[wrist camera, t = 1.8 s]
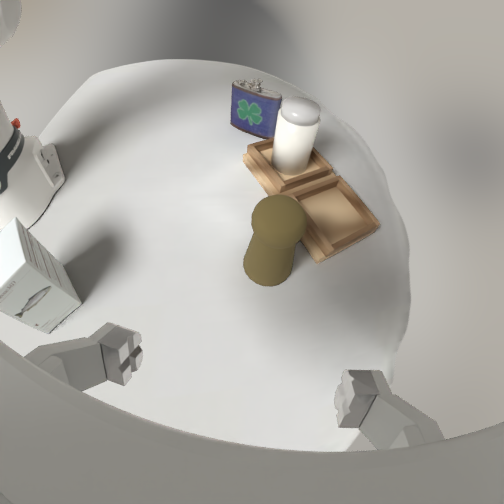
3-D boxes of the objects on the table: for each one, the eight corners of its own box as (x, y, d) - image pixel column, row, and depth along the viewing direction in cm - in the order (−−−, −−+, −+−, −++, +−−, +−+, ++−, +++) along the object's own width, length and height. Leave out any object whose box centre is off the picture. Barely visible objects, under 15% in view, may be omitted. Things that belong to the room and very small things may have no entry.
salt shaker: (263, 156, 40) (271, 98, 31) (293, 147, 42) (305, 93, 32) (283, 180, 38) (296, 121, 29) (313, 169, 40) (331, 114, 30)
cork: (257, 234, 35) (267, 175, 26) (299, 255, 34) (324, 202, 25) (233, 271, 33) (234, 219, 23) (278, 295, 32) (299, 252, 22)
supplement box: (48, 336, 26) (-17, 305, 15) (31, 294, 29) (-24, 253, 18) (84, 304, 29) (26, 261, 18) (64, 264, 31) (14, 213, 20)
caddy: (242, 160, 41) (242, 146, 39) (298, 143, 44) (301, 130, 42) (317, 265, 34) (324, 254, 31) (375, 233, 37) (383, 221, 34)
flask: (278, 135, 45) (286, 84, 36) (269, 143, 44) (277, 91, 35) (235, 118, 47) (237, 69, 38) (226, 125, 46) (226, 75, 36)
